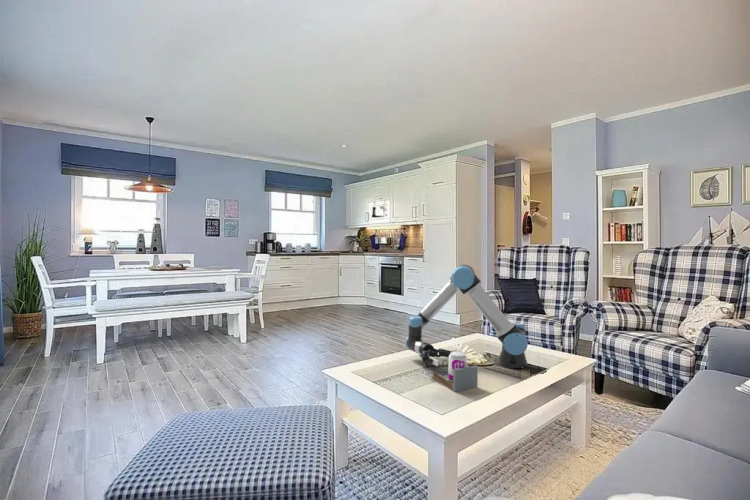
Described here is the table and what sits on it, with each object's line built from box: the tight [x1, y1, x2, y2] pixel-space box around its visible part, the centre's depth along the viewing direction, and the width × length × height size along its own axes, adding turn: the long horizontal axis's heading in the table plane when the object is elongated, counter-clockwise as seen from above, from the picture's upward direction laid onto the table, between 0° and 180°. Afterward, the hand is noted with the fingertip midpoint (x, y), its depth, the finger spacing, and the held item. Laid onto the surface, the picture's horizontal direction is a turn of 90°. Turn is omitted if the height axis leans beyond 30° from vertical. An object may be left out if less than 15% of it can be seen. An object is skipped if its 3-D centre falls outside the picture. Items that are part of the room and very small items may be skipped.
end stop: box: [453, 365, 479, 393], centre depth 176 cm, size 13×2×10 cm, turn 116°
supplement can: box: [447, 350, 468, 383], centre depth 181 cm, size 8×8×15 cm
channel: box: [432, 372, 454, 392], centre depth 184 cm, size 13×16×2 cm
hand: (449, 361), depth 187 cm, fingers open, 13 cm apart
